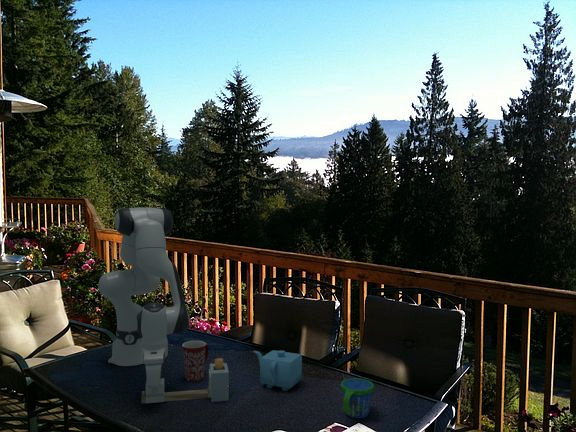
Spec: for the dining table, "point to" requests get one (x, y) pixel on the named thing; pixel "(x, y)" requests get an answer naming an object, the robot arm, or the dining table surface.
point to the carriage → (160, 393)
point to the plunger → (219, 364)
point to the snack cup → (357, 397)
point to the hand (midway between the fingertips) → (155, 390)
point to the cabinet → (219, 383)
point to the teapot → (280, 369)
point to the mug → (194, 359)
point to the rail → (182, 395)
